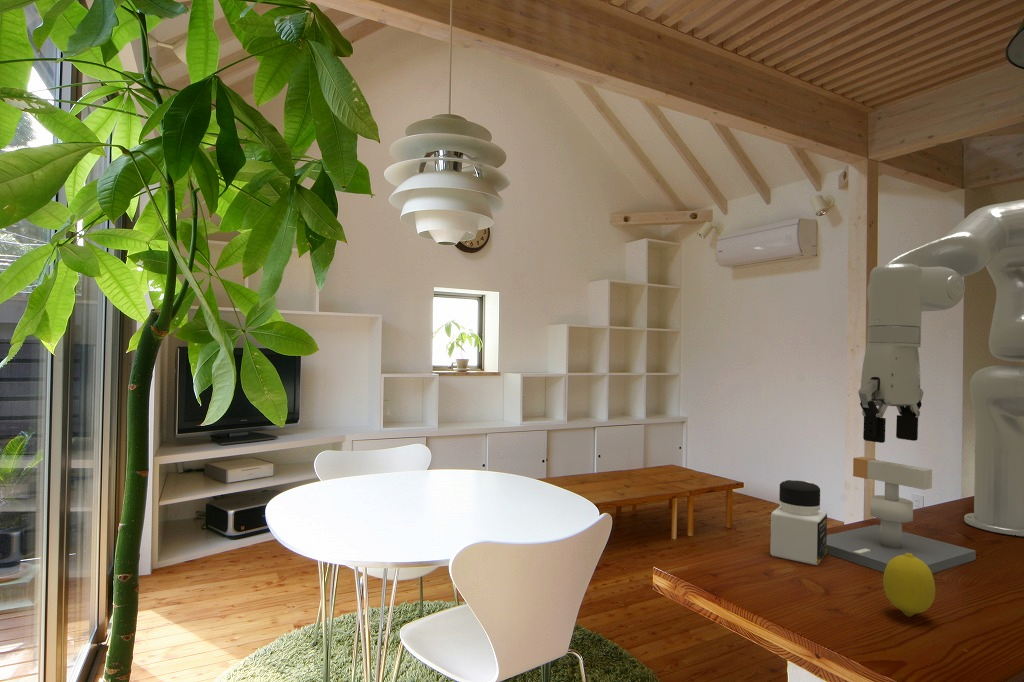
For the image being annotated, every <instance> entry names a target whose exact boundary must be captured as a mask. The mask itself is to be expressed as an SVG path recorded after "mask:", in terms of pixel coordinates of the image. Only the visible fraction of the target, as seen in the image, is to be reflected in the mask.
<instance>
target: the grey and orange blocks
mask: <svg viewBox="0 0 1024 682" xmlns="http://www.w3.org/2000/svg"><path fill="white" fill-rule="evenodd" d="M852 467H853V469H852V470H853V471H852V477H855V478H859V479H860V478H861V479H864V480H865V479H867V480H872V481H873V480H874V481H879V482H883V483H884V494H883V495H879V494H878V495H875V494H874V495H871V496H870V508H869V509H870V516H872V518H876V519H878V520H881V519H882V520H886V521H892V522H902V523H911V522H913V521H914V502H913V501H912V500H910V499H906V498H902V497H900V486H904V487H908V488H913V489H918V490H923V491H924V490H928V489H932V487H933V469H931V468H926V467H919V466H914V465H908V464H903V463H902V464H901V463H895V462H890V461H885V460H879V459H876V458H871V457H864V456H858V457H853V460H852Z"/></svg>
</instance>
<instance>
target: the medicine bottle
mask: <svg viewBox="0 0 1024 682" xmlns="http://www.w3.org/2000/svg"><path fill="white" fill-rule="evenodd" d="M778 497H779V500H778V501H779V502H778V503H779V506H778V507H776V508H775V510H773V511H772V512H771V514H770V548H769V549H770V555H771V556H772V557H775V558H781V559H785V560H790V561H795V562H798V563H799V562H800V563H804V564H808V565H812V566H819V564H820V563H821V561H822V560H823V559H824V557H825V556H826V555H827V554H826V541H827V535H828V534H827V531H828V527H827V526H828V513H827V512H826V511H824V510H820V509H821V488H820V487H819V485H817V484H815V483H813V482H811V481H806V480H801V479H800V480H799V479H789V480H788V479H787V480H784V481H781V482H780V483H779V496H778Z"/></svg>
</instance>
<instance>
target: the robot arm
mask: <svg viewBox="0 0 1024 682" xmlns="http://www.w3.org/2000/svg"><path fill="white" fill-rule="evenodd" d="M984 268H986V270H987V271H988V274H989V275H990V277H991V279H992V281H993V284H994V287H995V290H996V295H995V297H996V299H995V305H994V310H993V315H992V320H991V325H990V330H989V337H988V349H989V353H990V354H991V355H992V356H993V357H994V358H996V359H998V360H1002V361H1007V362H1018V363H1019V362H1021V363H1024V199H1017V200H1013V201H1007V202H1002V203H1001V202H1000V203H994V204H989V205H986V206H982V207H980V208H977V209H975V210H974V211H972V212H971V213H969V214H968V215H967V216H966V217H964V218H963V220H961V221H960V222H959V223H958V224H957V225H956V226H955V227H954V228H952V229H951V230H950V231H949V232H947V233H946V234H945V235H943V236H942V237H940V238H938V239H935V240H933V241H930V242H927V243H926V244H923V245H921V246H919V247H917V248H914V249H911V250H909V251H907V252H904V253H902V254H900V255H899V256H896V257H894V258H893V259H891V260H890V261H888V262H887V263H885V264H880V265H877V266H875V267H873V268H872V269H871V271H870V273H869V283H868V286H867V290H866V294H867V295H866V296H867V301H868V320H867V321H868V322H867V345H866V349H865V351H864V357H863V362H862V369H861V379H860V388H859V389H858V391H857V393H858V397H859V401H860V403H859V405H860V407H861V409H862V410H861V414H862V417H863V430H862V431H863V432H862V434H863V435H862V438H863V441H866V442H873V443H881V444H883V443H885V442H886V423H887V422H886V421H887V419H886V417H884V414H885V413H886V411H887V409H888V407H896V409H897V411H898V413H899V415H898V414H897V415H896V428H895V431H896V433H895V437H896V439H899V440H905V441H906V440H907V441H915V442H916V441H917V440H919V438H918V437H919V417H920V415H921V412H920V409H921V407H922V400H923V396H924V390H923V389H922V388H921V367H920V366H921V365H920V363H921V362H920V353H919V348H921V347H922V344H921V342H922V341H921V340H922V315H923V313H922V312H939V311H945V310H950V309H952V308H954V307H955V306H957V305H958V304H959V303H960V302H961V301H962V300H963V298H964V295H965V293H966V291H965V290H966V285H965V281H964V279H963V278H964V277H967V276H970V275H973V274H975V273H978V272H980V271H981V270H983V269H984ZM969 393H970V394H969V395H970V398H971V399H970V400H971V402H972V409H973V415H974V429H975V432H974V433H975V435H974V436H975V441H974V489H973V490H974V491H973V492H974V494H973V495H974V496H973V498H974V499H973V512H969V513H966V514H965V515H964V516H963V518H964V519H963V520H964V522H965V523H966V524H967V525H970V526H972V527H974V528H976V529H981V530H983V531H989V532H992V533H998V534H1002V535H1003V534H1004V535H1008V536H1015V535H1016V536H1017V537H1024V365H990V366H985V367H983V368H981V369H979V370H976V372H974V374H972V377H971V379H970V381H969Z"/></svg>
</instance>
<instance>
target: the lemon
mask: <svg viewBox="0 0 1024 682" xmlns="http://www.w3.org/2000/svg"><path fill="white" fill-rule="evenodd" d="M882 584H883V590H884V593H885V595H886V598H887V599H888V600H889V602H890V603H891V604H892V605H893V606H894V607H895V608H897V609H899V610H900V611H901V612H902V613H903V615H905V616H906V617H913V616H914V615H916V614H920V613H924V612H926V611H927V610H928V609H929V608H930V607H931V606H932V605H933V603H934V600H935V597H936V583H935V578H934V575H933V573H932V572H931V570H930V569H929V567H928V566H927V565H926V564H925V563H924V562H923V561H921V560H920V559H918V558H916V557H914V555H913V554H911V553H906V554H904V555H900V556H896V557H894V558H893V559H891V560H890V561H889V562H888V564H887V566H886V568H885V572H883V578H882Z"/></svg>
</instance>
